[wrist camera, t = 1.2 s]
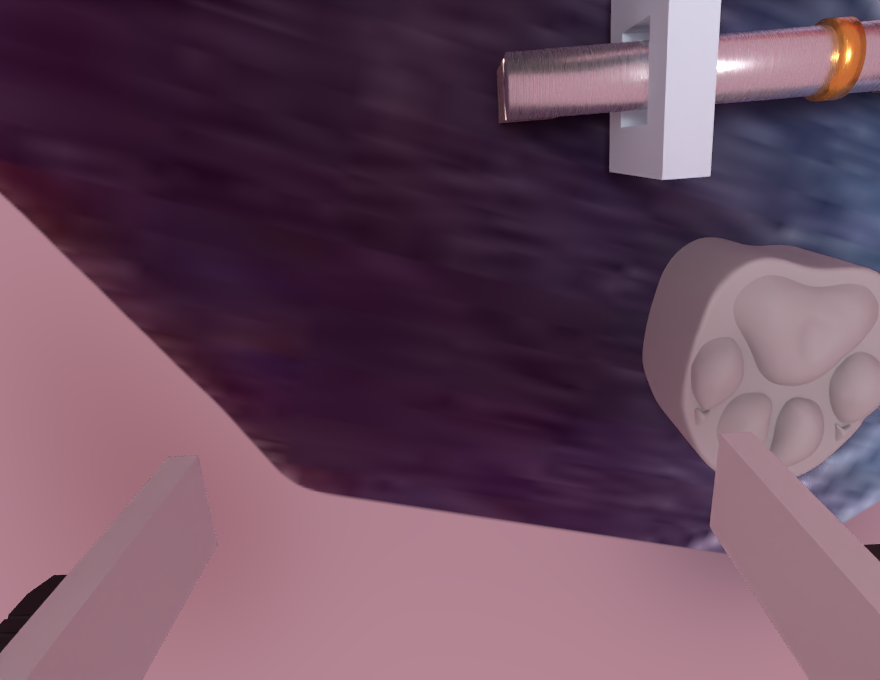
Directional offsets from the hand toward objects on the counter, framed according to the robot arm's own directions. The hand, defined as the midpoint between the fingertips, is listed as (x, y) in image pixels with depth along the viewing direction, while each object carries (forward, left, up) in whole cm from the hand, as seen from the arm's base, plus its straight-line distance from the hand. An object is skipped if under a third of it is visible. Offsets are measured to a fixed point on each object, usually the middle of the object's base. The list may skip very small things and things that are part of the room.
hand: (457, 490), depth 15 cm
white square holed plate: (-11, +10, -22) cm, 26 cm away
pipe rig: (-11, +15, -24) cm, 30 cm away
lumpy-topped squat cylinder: (+5, +17, -24) cm, 30 cm away
